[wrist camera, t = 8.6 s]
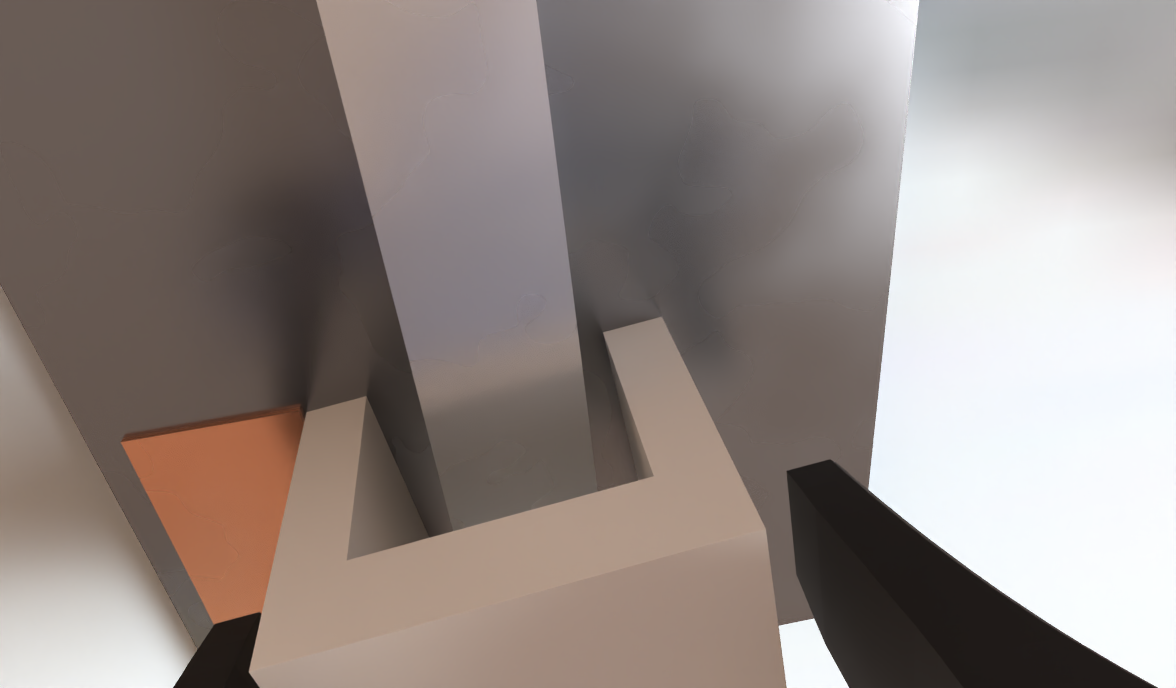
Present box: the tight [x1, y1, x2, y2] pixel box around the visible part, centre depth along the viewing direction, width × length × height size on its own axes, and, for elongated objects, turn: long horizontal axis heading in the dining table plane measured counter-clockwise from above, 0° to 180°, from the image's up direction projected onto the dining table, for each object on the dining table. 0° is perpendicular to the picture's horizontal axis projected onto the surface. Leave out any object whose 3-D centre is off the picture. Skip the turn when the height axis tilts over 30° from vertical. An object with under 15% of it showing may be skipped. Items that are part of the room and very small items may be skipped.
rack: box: [0, 0, 919, 649], centre depth 11 cm, size 12×18×3 cm, turn 6°
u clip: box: [249, 317, 786, 688], centre depth 11 cm, size 5×4×4 cm
